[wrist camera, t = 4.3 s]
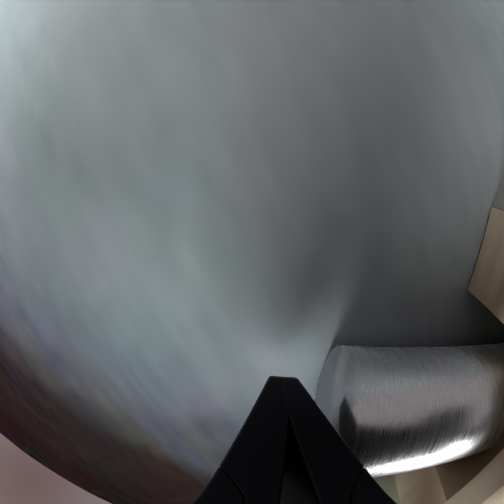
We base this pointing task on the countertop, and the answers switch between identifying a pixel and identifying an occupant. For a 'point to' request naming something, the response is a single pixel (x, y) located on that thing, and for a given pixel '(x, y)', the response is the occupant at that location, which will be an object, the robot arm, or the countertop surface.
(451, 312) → the countertop surface
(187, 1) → the countertop surface
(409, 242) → the countertop surface
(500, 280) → the wooden bridge block
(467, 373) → the axle
